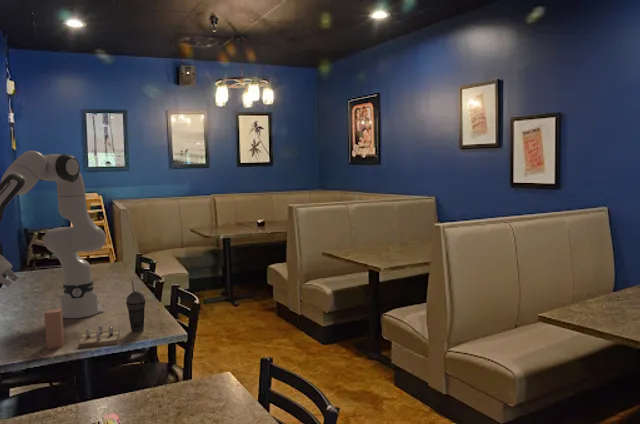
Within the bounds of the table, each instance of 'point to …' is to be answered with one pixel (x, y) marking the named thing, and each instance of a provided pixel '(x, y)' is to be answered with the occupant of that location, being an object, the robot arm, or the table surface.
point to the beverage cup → (136, 310)
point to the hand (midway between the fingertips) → (13, 282)
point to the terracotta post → (54, 328)
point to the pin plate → (99, 337)
